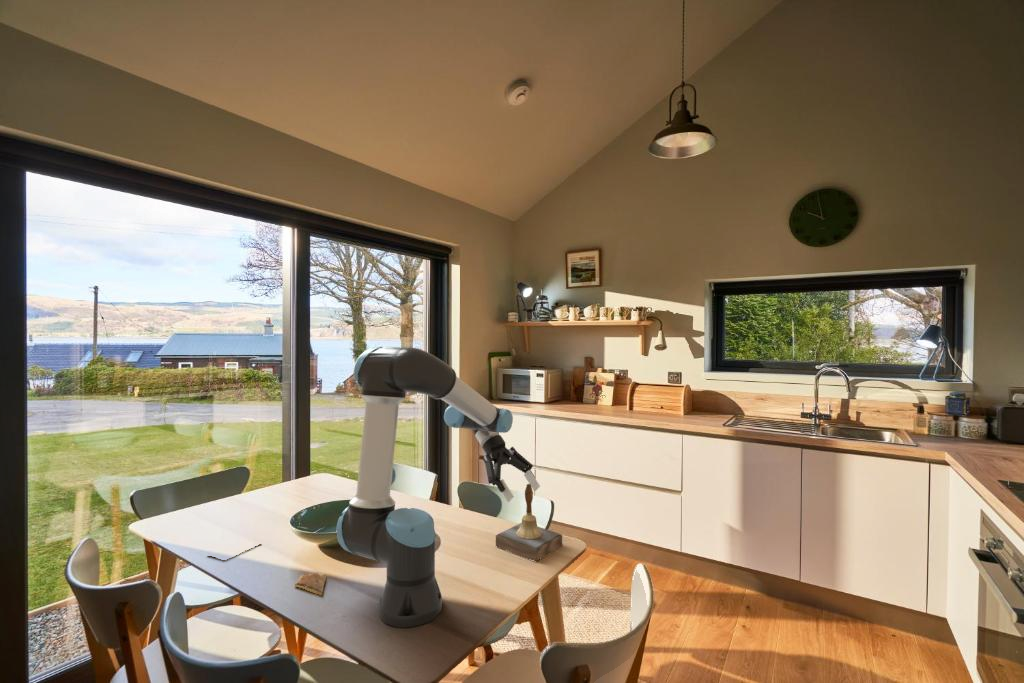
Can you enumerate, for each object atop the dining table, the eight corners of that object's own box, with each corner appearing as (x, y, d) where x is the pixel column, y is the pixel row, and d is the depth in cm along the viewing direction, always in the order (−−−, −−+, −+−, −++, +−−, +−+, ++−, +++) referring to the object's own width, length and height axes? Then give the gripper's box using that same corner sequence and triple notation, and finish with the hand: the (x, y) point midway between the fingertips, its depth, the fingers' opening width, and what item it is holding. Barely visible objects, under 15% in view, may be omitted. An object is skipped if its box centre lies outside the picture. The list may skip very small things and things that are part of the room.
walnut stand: (535, 562, 142) (535, 548, 142) (495, 546, 152) (495, 534, 152) (562, 546, 153) (562, 533, 152) (523, 532, 163) (523, 521, 163)
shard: (322, 598, 123) (322, 591, 123) (290, 602, 121) (290, 595, 121) (326, 577, 134) (326, 571, 134) (297, 581, 132) (297, 574, 132)
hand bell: (543, 539, 148) (543, 488, 148) (517, 540, 148) (517, 488, 147) (540, 528, 157) (540, 479, 156) (514, 529, 156) (514, 480, 156)
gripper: (508, 440, 175) (541, 490, 165) (458, 453, 156) (492, 510, 146) (520, 428, 171) (553, 478, 162) (470, 440, 152) (505, 497, 143)
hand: (524, 494), depth 154 cm, fingers open, 13 cm apart
